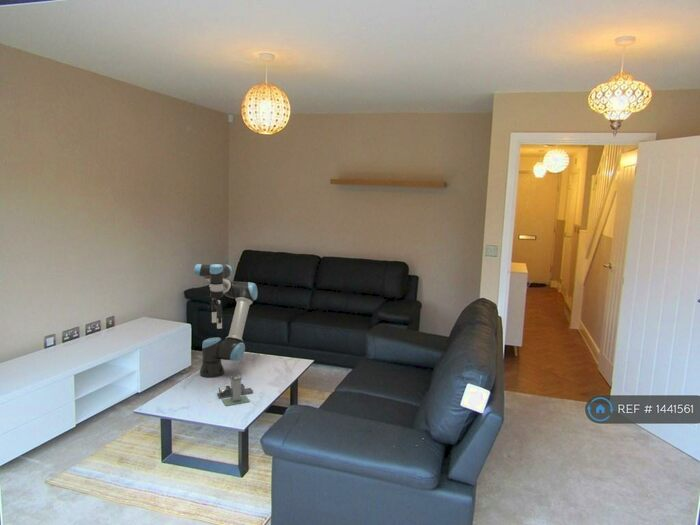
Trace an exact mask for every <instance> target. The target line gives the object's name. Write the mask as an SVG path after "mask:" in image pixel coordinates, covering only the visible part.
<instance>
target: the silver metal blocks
mask: <svg viewBox="0 0 700 525" xmlns="http://www.w3.org/2000/svg"><path fill="white" fill-rule="evenodd" d="M250 394H251V395H252V394H254V390H253V389H252V388H251V387H249V388H248V387H247V388H246V386H245V385H244V383H241V396H245V395H246V396H247V395H250ZM216 397H217V398H218V399H219V400H220V399H221V400H222V399H227V398H231V385H226V386H225V389H221V387H218V392H217V393H216Z"/></svg>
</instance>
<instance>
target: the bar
mask: <svg viewBox="0 0 700 525" xmlns="http://www.w3.org/2000/svg"><path fill="white" fill-rule="evenodd" d="M229 378H230V388H231V397H230V398H231V400H232V402H239V401H241V396H242V395H241V384H242V377H241V375H240V374H235V375H229Z"/></svg>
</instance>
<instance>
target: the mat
mask: <svg viewBox="0 0 700 525" xmlns="http://www.w3.org/2000/svg"><path fill="white" fill-rule="evenodd" d="M221 401H222V404H224V406H225V407H230V406H234V405H235V406H236V405H241V404H247V403H251V401H250V398H248V396H247V394H246V395H241V401H239V402H232V400H231V397H228V398H222V399H221Z"/></svg>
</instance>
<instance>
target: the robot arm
mask: <svg viewBox="0 0 700 525" xmlns="http://www.w3.org/2000/svg"><path fill="white" fill-rule="evenodd" d="M232 273H233V268H232V266H231V265H229V264H219V263H218V264H217V263H215V264H204V263H197V264H195V265H194V268H193V275H194V276H196V277H201V278H203V279H205V280H206V281H207V282H209V286H208V287H209V298H211V305H210V311H211V323H212V324H215V323H216V329H217V330H218V329H223V318H224V315H223V306H222V300H220V299H221V298H223V297H224V296H225V297H227V298H231V299H235V302H236V305H235V309H234V312H233V313H234V314H233V316H232V319H231V320H232V321H231V324H230V330H229V332H228V336H226V337H225V339H224V340H222V338H221V337H218V336H217V337H215V336H214V337H209V338H207V339H204V340H203V341H202V343H201V344H202V348H201V349H202V350H201V351H202V353H201V354H202V364H201V366H200V370H199V375H200V377H203V378H217V377H221V376H222V375H224V373H225V370H224V366H223V364H222V360H223V361H231V362H233V361H234V362H235V361H237V362H238V361H240V360H241V359H242V358H243V357H244V354H245V351H246V345H245V344H246V343H244V340H243V334H244V329H245V325H246V321H247V318H248V314H249V309H250V305H252V304H253V303H254V301H256V300H257V299H258V294H259V293H258V287H257V284H256V283H255V282H250V281H248V282H247V281H236V280H234V281H233V280H232V281H231V280H229V279H225V278H229V277H230V276H231V275H233V274H232Z"/></svg>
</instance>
